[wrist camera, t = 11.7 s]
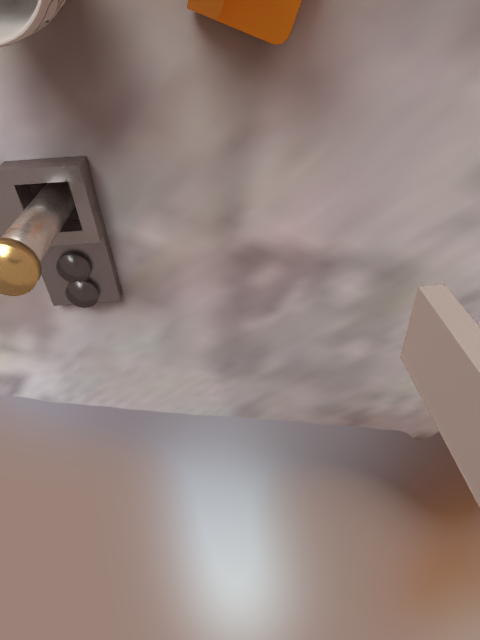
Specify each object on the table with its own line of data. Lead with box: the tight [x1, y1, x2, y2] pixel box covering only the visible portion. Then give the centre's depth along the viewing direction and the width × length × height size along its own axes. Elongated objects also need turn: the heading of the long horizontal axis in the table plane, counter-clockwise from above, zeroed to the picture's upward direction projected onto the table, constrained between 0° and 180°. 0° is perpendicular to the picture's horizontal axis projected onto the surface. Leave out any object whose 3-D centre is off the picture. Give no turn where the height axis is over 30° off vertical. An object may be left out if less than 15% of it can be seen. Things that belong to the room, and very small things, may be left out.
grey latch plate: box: [0, 156, 122, 307], centre depth 40 cm, size 15×7×2 cm, turn 3°
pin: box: [0, 182, 75, 296], centre depth 34 cm, size 4×4×13 cm
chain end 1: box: [0, 161, 103, 246], centre depth 37 cm, size 15×7×2 cm, turn 93°
